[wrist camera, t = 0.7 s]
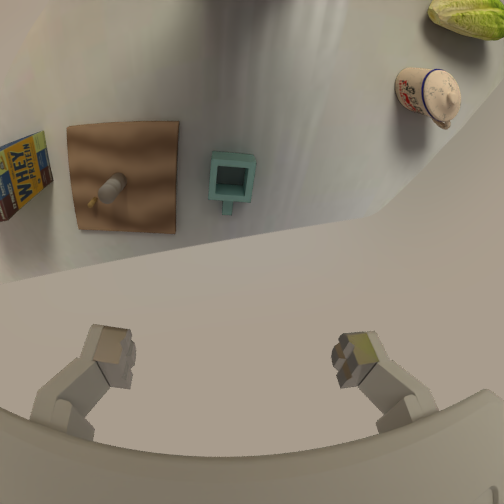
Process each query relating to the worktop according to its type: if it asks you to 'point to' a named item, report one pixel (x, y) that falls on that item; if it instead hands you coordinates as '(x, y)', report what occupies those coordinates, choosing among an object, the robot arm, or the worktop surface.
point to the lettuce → (470, 17)
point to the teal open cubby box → (228, 191)
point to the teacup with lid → (429, 94)
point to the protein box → (22, 172)
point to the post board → (124, 175)
